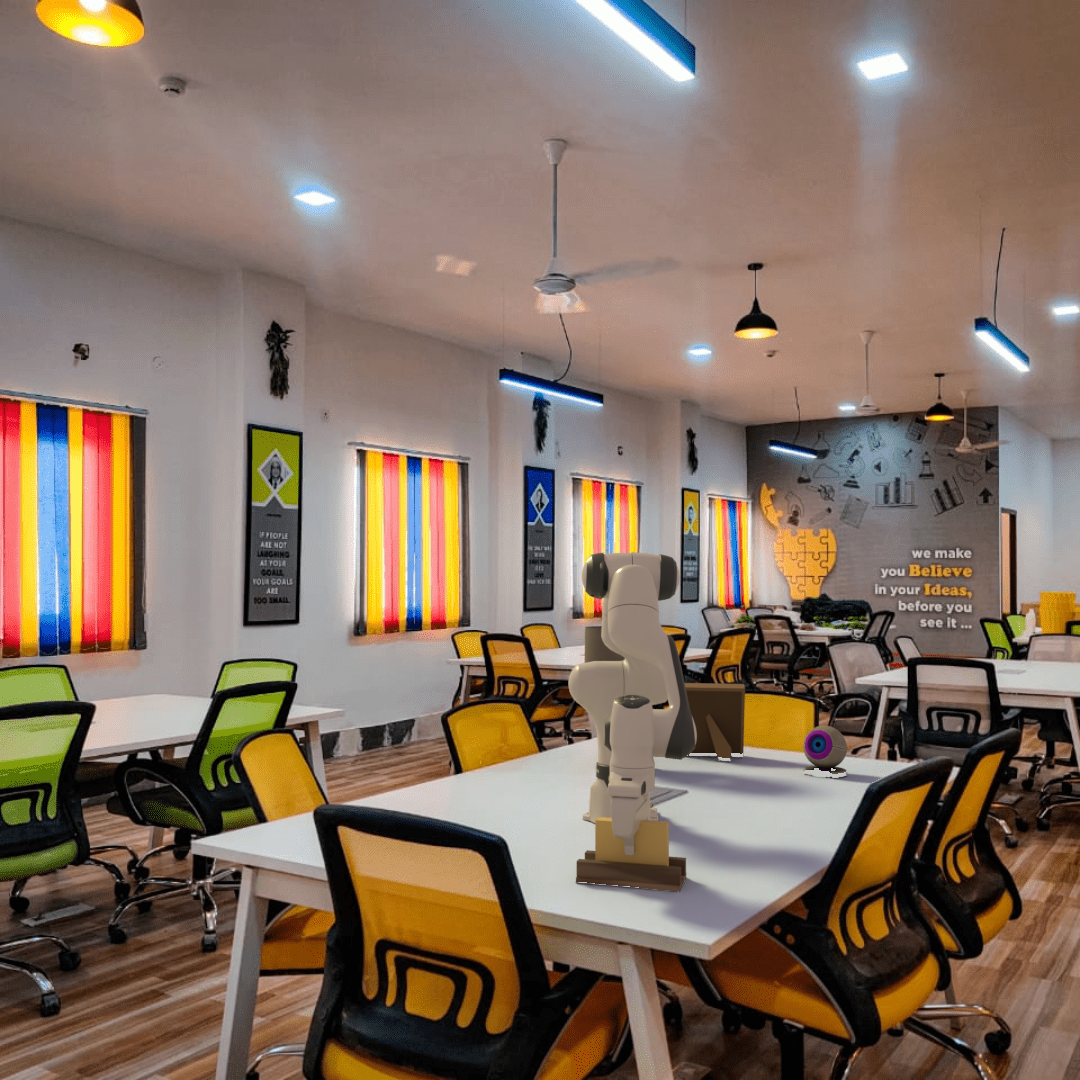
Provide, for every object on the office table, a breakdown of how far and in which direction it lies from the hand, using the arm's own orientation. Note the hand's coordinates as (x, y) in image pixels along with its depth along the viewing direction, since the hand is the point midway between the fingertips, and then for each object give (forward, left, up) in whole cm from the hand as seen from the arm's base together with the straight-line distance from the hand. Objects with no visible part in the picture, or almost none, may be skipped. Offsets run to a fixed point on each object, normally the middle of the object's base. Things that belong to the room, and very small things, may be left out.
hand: (631, 851), depth 204 cm
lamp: (-126, -27, -6) cm, 129 cm away
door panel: (0, 0, -3) cm, 3 cm away
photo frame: (-153, -1, -6) cm, 153 cm away
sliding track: (0, 0, -6) cm, 6 cm away
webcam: (-133, +36, -6) cm, 138 cm away
